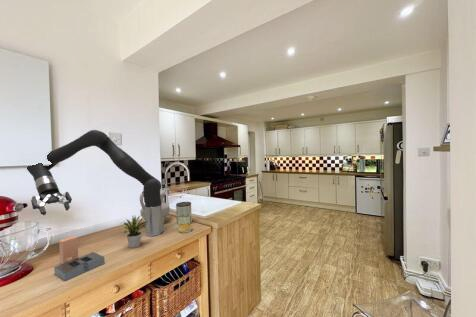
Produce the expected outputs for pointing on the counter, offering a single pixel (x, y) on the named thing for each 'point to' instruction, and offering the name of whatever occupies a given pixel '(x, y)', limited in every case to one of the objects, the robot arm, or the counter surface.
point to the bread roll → (185, 228)
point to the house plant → (134, 232)
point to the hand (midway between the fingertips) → (56, 211)
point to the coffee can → (183, 213)
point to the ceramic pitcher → (164, 205)
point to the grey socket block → (78, 266)
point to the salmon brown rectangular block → (68, 249)
